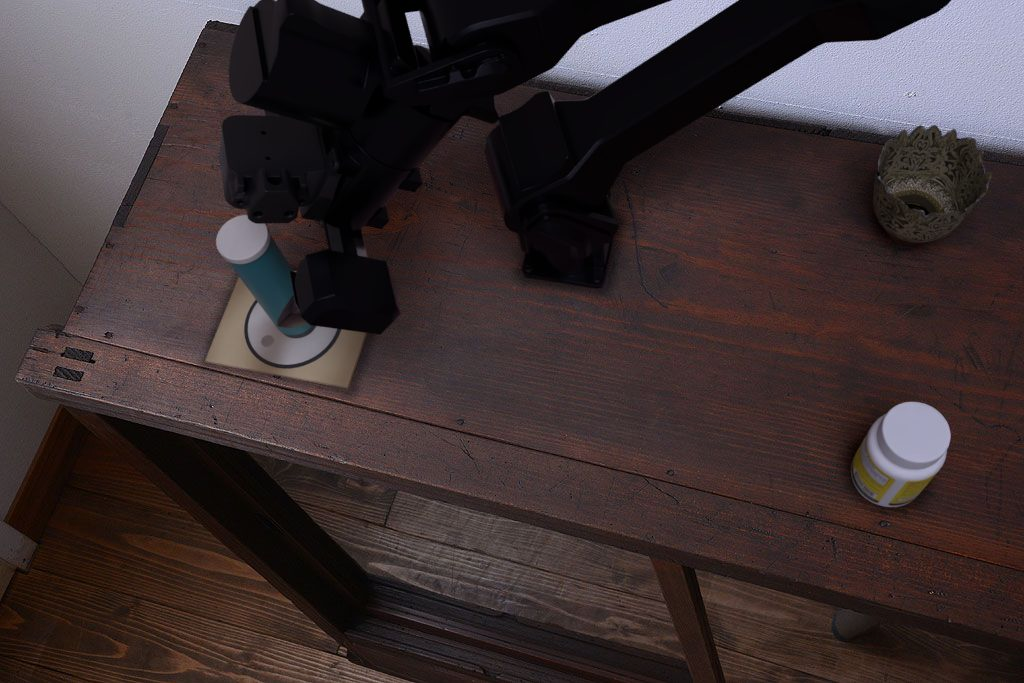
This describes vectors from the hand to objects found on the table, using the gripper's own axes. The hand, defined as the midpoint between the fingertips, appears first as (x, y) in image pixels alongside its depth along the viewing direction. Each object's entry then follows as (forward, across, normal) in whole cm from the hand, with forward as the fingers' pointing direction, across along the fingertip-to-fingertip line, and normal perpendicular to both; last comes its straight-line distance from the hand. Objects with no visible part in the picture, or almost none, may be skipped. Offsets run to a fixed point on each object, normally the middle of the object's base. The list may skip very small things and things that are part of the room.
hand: (274, 271), depth 70 cm
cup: (-27, +6, +39) cm, 48 cm away
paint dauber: (+6, 0, +5) cm, 7 cm away
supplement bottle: (-20, +24, +32) cm, 45 cm away
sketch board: (+6, 0, +5) cm, 8 cm away
